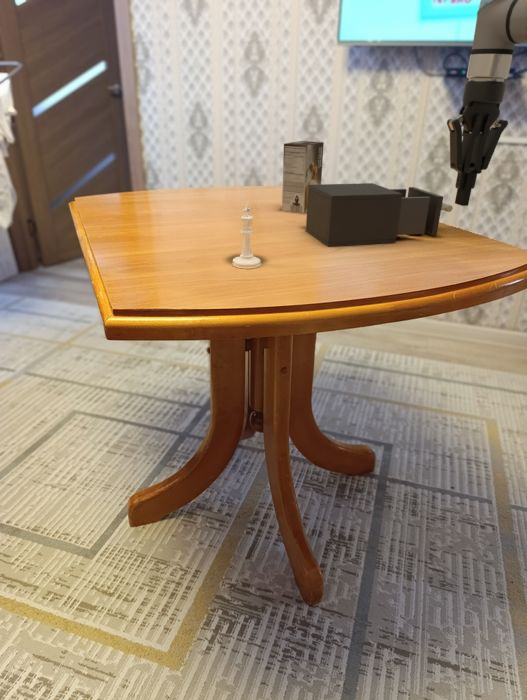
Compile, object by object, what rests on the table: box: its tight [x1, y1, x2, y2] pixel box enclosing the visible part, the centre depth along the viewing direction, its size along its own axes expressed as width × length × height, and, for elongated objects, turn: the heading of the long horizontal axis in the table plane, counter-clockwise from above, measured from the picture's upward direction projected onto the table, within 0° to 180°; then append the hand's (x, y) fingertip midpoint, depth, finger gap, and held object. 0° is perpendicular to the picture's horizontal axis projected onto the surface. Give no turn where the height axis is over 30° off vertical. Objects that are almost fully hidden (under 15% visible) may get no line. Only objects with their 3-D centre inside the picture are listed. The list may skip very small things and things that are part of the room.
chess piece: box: [231, 204, 262, 270], centre depth 85 cm, size 5×5×10 cm
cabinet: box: [305, 182, 402, 248], centre depth 103 cm, size 15×13×10 cm
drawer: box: [389, 186, 453, 237], centre depth 106 cm, size 18×11×8 cm, turn 106°
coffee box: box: [281, 140, 325, 214], centre depth 123 cm, size 9×6×16 cm
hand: (461, 204), depth 109 cm, fingers closed
